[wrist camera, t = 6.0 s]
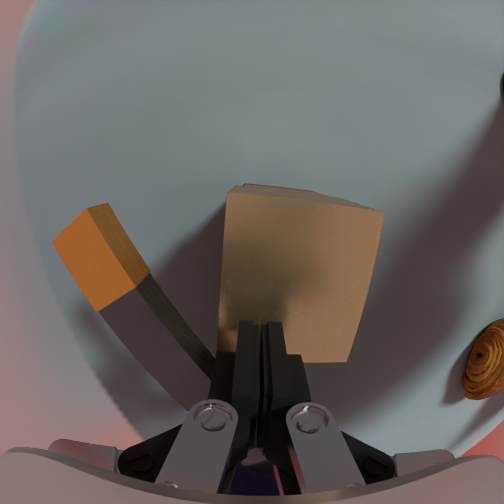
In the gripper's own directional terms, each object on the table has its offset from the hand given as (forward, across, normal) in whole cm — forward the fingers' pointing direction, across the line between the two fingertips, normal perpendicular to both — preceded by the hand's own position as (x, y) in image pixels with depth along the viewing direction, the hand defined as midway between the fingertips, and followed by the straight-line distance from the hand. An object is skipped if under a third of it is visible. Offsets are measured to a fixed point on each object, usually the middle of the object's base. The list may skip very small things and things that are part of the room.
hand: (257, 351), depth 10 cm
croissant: (+13, -37, +13) cm, 41 cm away
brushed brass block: (+7, -1, -2) cm, 7 cm away
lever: (0, +2, +2) cm, 3 cm away
